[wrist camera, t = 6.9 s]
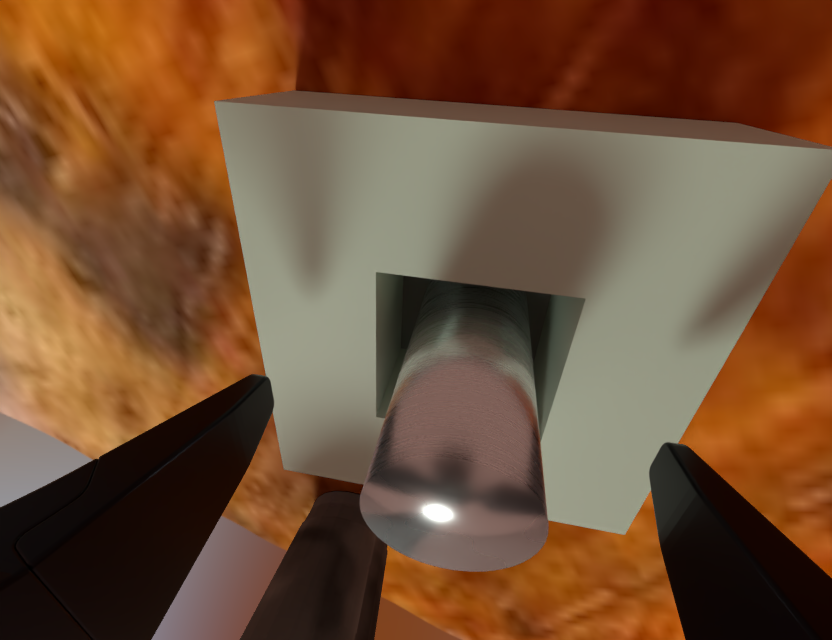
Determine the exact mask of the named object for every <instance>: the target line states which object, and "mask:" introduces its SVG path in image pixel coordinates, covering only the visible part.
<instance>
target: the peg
mask: <svg viewBox="0 0 832 640" xmlns="http://www.w3.org/2000/svg"><path fill="white" fill-rule="evenodd" d="M360 510H361V513H362V516H363V518H364V520H365V522H366V524H367V525H368V526H369V528H370V529H371V530H372V532H373V533H374V534H375V535H376V536H377V537H378V538H380V539H381V540H382V541H383V542H384V543H386V544H387V545H389V546H390V547H391V548H393V549H395V550H396V551H398V552H400V553H402V554H404V555H406V556H408V557H410V558H412V559H415V560H417V561H420V562H423V563H426V564H429V565H433V566H437V567H441V568H446V569H451V570H459V571H492V570H499V569H504V568H508V567H512V566H515V565H517V564H520V563H522V562H524V561H526V560H528V559H530V558H531V557H532V556H534V555H535V554H536V553H537V552H538V551H539V550H540V549H541V548H542V547H543V545H544V543H545V541H546V539H547V535H548V516H547V506H546V495H545V485H544V475H543V464H542V454H541V443H540V433H539V422H538V412H537V401H536V391H535V380H534V370H533V359H532V349H531V338H530V328H529V317H528V307H527V297H526V292H525V291H522V290H514V289H506V288H498V287H490V286H482V285H475V284H467V283H459V282H451V281H443V280H435V279H431V280H430V282H429V284H428V286H427V289H426V292H425V295H424V298H423V302H422V305H421V308H420V311H419V314H418V317H417V320H416V323H415V326H414V330H413V333H412V336H411V339H410V342H409V345H408V348H407V351H406V354H405V358H404V361H403V364H402V367H401V370H400V373H399V376H398V379H397V383H396V386H395V389H394V392H393V395H392V398H391V401H390V404H389V407H388V411H387V414H386V417H385V420H384V423H383V426H382V429H381V432H380V435H379V439H378V442H377V445H376V448H375V451H374V454H373V457H372V460H371V463H370V467H369V470H368V473H367V476H366V479H365V482H364V485H363V488H362V492H361V495H360Z"/></svg>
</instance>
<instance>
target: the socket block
mask: <svg viewBox="0 0 832 640" xmlns="http://www.w3.org/2000/svg"><path fill="white" fill-rule="evenodd" d="M214 103H215V108H216V113H217V119H218V124H219V129H220V135H221V140H222V145H223V150H224V156H225V161H226V166H227V172H228V177H229V182H230V187H231V193H232V198H233V203H234V209H235V214H236V219H237V224H238V230H239V235H240V240H241V246H242V251H243V256H244V261H245V267H246V272H247V277H248V283H249V288H250V293H251V298H252V304H253V309H254V314H255V320H256V325H257V330H258V335H259V341H260V346H261V351H262V357H263V362H264V367H265V372H266V376H267V377H269V379H270V381H271V386H272V392H273V397H274V408H273V415H274V420H275V425H276V431H277V436H278V441H279V446H280V452H281V457H282V462H283V468H284V469H285V470H290V471H295V472H301V473H306V474H311V475H316V476H321V477H327V478H332V479H337V480H342V481H347V482H353V483H358V484H363V485H364V482H365V479H366V476H367V473H368V470H369V467H370V463H371V460H372V457H373V454H374V451H375V448H376V445H377V442H378V439H379V435H380V432H381V429H382V426H383V423H384V420H385V417H386V414H387V411H388V407H389V404H390V401H391V398H392V395H393V392H394V389H395V386H396V383H397V379H398V376H399V373H400V370H401V367H402V364H403V361H404V358H405V354H406V351H407V348H408V345H409V342H410V339H411V336H412V333H413V330H414V326H415V323H416V320H417V317H418V314H419V311H420V308H421V305H422V302H423V298H424V295H425V292H426V289H427V286H428V284H429V282H430V280H431V279H435V280H443V281H451V282H459V283H467V284H475V285H482V286H490V287H498V288H506V289H514V290H522V291H525V292H526V297H527V307H528V317H529V328H530V338H531V349H532V359H533V370H534V380H535V391H536V401H537V412H538V422H539V433H540V443H541V454H542V464H543V475H544V485H545V495H546V506H547V516H548V520H550V521H555V522H561V523H566V524H571V525H576V526H581V527H587V528H592V529H597V530H602V531H607V532H613V533H618V534H623V535H625V533H626V532H627V530H628V528H629V527H630V525H631V523H632V521H633V520H634V518H635V516H636V514H637V513H638V511H639V509H640V508H641V506H642V504H643V502H644V501H645V499H646V497H647V496H648V494H649V492H650V490H651V486H650V479H649V469H650V466H651V464H652V462H653V460H654V458H655V457H656V455H657V453H658V451H659V449H660V447H661V446H662V444H664V443H666V442H671V443H677V444H678V442H679V440H680V439H681V437H682V435H683V433H684V432H685V430H686V428H687V427H688V425H689V423H690V421H691V420H692V418H693V416H694V414H695V413H696V411H697V409H698V408H699V406H700V404H701V402H702V401H703V399H704V397H705V395H706V394H707V392H708V390H709V389H710V387H711V385H712V383H713V382H714V380H715V378H716V377H717V375H718V373H719V371H720V370H721V368H722V366H723V364H724V363H725V361H726V359H727V358H728V356H729V354H730V352H731V351H732V349H733V347H734V345H735V344H736V342H737V340H738V339H739V337H740V335H741V333H742V332H743V330H744V328H745V326H746V325H747V323H748V321H749V320H750V318H751V316H752V314H753V313H754V311H755V309H756V308H757V306H758V304H759V302H760V301H761V299H762V297H763V295H764V294H765V292H766V290H767V289H768V287H769V285H770V283H771V282H772V280H773V278H774V276H775V275H776V273H777V271H778V270H779V268H780V266H781V264H782V263H783V261H784V259H785V258H786V256H787V254H788V252H789V251H790V249H791V247H792V245H793V244H794V242H795V240H796V239H797V237H798V235H799V233H800V232H801V230H802V228H803V226H804V225H805V223H806V221H807V220H808V218H809V216H810V214H811V213H812V211H813V209H814V207H815V206H816V204H817V202H818V201H819V199H820V197H821V195H822V194H823V192H824V190H825V189H826V187H827V185H828V183H829V182H830V180H831V178H832V147H830V146H826V145H822V144H818V143H814V142H810V141H807V140H803V139H799V138H795V137H791V136H787V135H783V134H779V133H775V132H771V131H767V130H763V129H760V128H756V127H752V126H748V125H744V124H740V123H731V122H718V121H704V120H690V119H677V118H663V117H649V116H636V115H622V114H608V113H595V112H581V111H567V110H554V109H540V108H526V107H513V106H499V105H485V104H472V103H458V102H445V101H431V100H417V99H404V98H390V97H376V96H363V95H349V94H335V93H322V92H308V91H287V92H280V93H272V94H265V95H257V96H249V97H242V98H234V99H227V100H219V101H214Z"/></svg>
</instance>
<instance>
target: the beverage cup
mask: <svg viewBox="0 0 832 640" xmlns="http://www.w3.org/2000/svg"><path fill="white" fill-rule="evenodd" d="M386 558H387V544H386V543H384V542H383V541H382V540H381V539H380V538H378V537H377V536H376V535H375V534H374V533H373V532H372V530H371V529H370V528H369V526H368V525H367V524H366V522H365V520H364V518H363V516H362V513H361V510H360V495H358V494H354V493H350V492H342V491H334V492H329V493H324V494H323V495H321V496H320V497H318V498H317V499H316V501H315V503H314V505H313V507H312V509H311V511H310V513H309V514H308V516H307V518H306V520H305V521H304V522H303V523H302V525H301V526H300V528H299V530H298V532H297V534H296V536H295V537H294V539H293V541H292V543H291V545H290V547H289V549H288V551H287V552H286V554H285V556H284V558H283V560H282V562H281V564H280V566H279V568H278V569H277V571H276V573H275V575H274V577H273V579H272V580H271V582H270V584H269V586H268V588H267V590H266V592H265V594H264V595H263V597H262V599H261V601H260V603H259V605H258V607H257V608H256V611H255V612H254V614H253V616H252V618H251V620H250V622H249V624H248V625H247V627H246V629H245V631H244V633H243V635H242V637H241V638H240V640H374V637H375V630H376V623H377V616H378V610H379V604H380V597H381V591H382V584H383V578H384V571H385V565H386Z"/></svg>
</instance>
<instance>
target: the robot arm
mask: <svg viewBox="0 0 832 640" xmlns="http://www.w3.org/2000/svg"><path fill="white" fill-rule="evenodd" d="M273 408H274V397H273V392H272V386H271V381H270V379H269V377H267V376H262V375H256V374H252V375H249V376H247V377H245V378H243V379H242V380H240V381H238V382H236V383H234V384H232V385H231V386H229V387H227V388H225V389H223V390H221V391H220V392H218V393H216V394H214V395H212V396H210V397H209V398H207V399H205V400H203V401H201V402H199V403H198V404H196V405H194V406H192V407H190V408H188V409H187V410H185V411H183V412H181V413H179V414H177V415H175V416H174V417H172V418H170V419H168V420H166V421H164V422H163V423H161V424H159V425H157V426H155V427H153V428H152V429H150V430H148V431H146V432H144V433H142V434H141V435H139V436H137V437H135V438H133V439H131V440H130V441H128V442H126V443H124V444H122V445H120V446H119V447H117V448H115V449H113V450H111V451H109V452H107V453H106V454H104V455H102V456H100V457H99V459H94V460H93V461H91V462H89V463H87V464H85V465H83V466H82V467H80V468H78V469H76V470H74V471H73V472H71V473H69V474H67V475H65V476H63V477H61V478H59V479H57V480H55V481H53V482H51V483H49V484H47V485H46V486H43V487H42V488H39V489H37V490H35V491H33V492H31V493H29V494H27V495H25V496H23V497H21V498H19V499H17V500H15V501H13V502H11V503H9V504H7V505H5V506H2V507H0V640H151V639H152V637H153V636H154V634H155V632H156V630H157V629H158V627H159V625H160V623H161V621H162V620H163V618H164V616H165V614H166V613H167V611H168V609H169V607H170V605H171V604H172V602H173V600H174V598H175V597H176V595H177V593H178V591H179V590H180V588H181V586H182V584H183V582H184V581H185V579H186V577H187V575H188V574H189V572H190V570H191V568H192V566H193V565H194V563H195V561H196V559H197V557H198V556H199V554H200V552H201V551H202V549H203V547H204V545H205V543H206V542H207V540H208V538H209V536H210V534H211V533H212V531H213V529H214V528H215V526H216V524H217V522H218V520H219V519H220V517H221V515H222V513H223V512H224V510H225V508H226V506H227V505H228V503H229V501H230V499H231V497H232V496H233V494H234V492H235V490H236V489H237V487H238V485H239V483H240V481H241V480H242V478H243V476H244V474H245V472H246V471H247V469H248V467H249V465H250V462H251V460H252V458H253V456H254V453H255V451H256V449H257V446H258V444H259V442H260V440H261V437H262V435H263V433H264V430H265V428H266V426H267V423H268V421H269V419H270V416H271V414H272V412H273ZM649 479H650V486H651V492H652V498H653V505H654V511H655V517H656V524H657V530H658V536H659V541H660V547H661V551H662V555H663V559H664V563H665V566H666V570H667V574H668V577H669V581H670V584H671V588H672V592H673V595H674V599H675V603H676V606H677V610H678V614H679V617H680V621H681V625H682V628H683V632H684V636H685V639H686V640H832V578H831V577H830V576H829V575H827V574H826V573H825V572H824V571H823V570H822V569H821V568H820V567H819V566H818V565H817V564H815V563H814V562H813V561H812V560H811V559H810V558H809V557H808V556H807V555H806V554H805V553H803V552H802V551H801V550H800V549H799V548H798V547H797V546H796V545H795V544H794V543H793V542H792V541H790V540H789V539H788V538H787V537H786V536H785V535H784V534H783V533H782V532H781V531H780V530H778V529H777V528H776V527H775V526H774V525H773V524H772V523H771V522H770V521H769V520H768V519H766V518H765V517H764V516H763V515H762V514H761V513H760V512H759V511H758V510H757V509H756V508H755V507H753V506H752V505H751V504H750V503H749V502H748V501H747V500H746V499H745V498H744V497H743V496H741V495H740V494H739V493H738V492H737V491H736V490H735V489H734V488H733V487H732V486H731V485H729V484H728V483H727V482H726V481H725V480H724V479H723V478H722V477H721V476H720V475H719V474H718V473H716V472H715V471H714V470H713V469H712V468H711V467H710V466H709V465H708V464H707V463H706V462H704V461H703V460H702V459H701V458H700V457H699V456H698V455H697V454H696V453H695V452H694V451H692V450H691V449H690V448H689V447H688V446H686V445H683V444H677V443H671V442H666V443H664V444H662V446H661V447H660V449H659V451H658V453H657V455H656V457H655V458H654V460H653V462H652V464H651V466H650V469H649Z"/></svg>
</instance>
